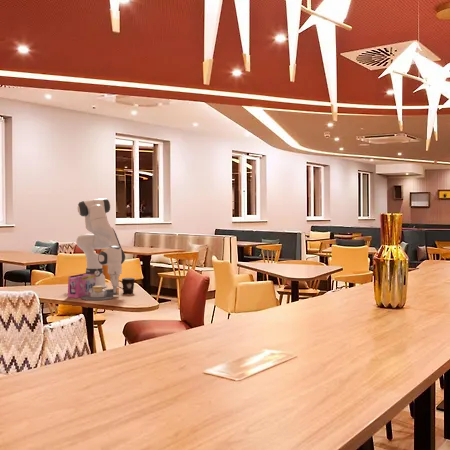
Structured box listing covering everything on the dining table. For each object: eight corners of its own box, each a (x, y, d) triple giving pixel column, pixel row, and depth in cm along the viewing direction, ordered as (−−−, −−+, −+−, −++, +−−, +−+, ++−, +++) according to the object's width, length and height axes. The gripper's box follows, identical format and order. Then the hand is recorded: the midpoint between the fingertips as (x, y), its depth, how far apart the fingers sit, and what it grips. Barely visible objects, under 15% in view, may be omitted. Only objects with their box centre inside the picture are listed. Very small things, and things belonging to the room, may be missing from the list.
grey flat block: (92, 297, 353) (92, 290, 353) (86, 295, 362) (86, 288, 362) (121, 295, 364) (121, 288, 364) (115, 293, 373) (115, 286, 373)
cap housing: (77, 297, 364) (77, 285, 364) (108, 294, 375) (108, 283, 374) (86, 301, 347) (86, 289, 347) (118, 299, 357) (118, 287, 357)
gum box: (77, 298, 359) (77, 277, 358) (66, 297, 361) (66, 276, 360) (95, 293, 382) (96, 273, 381) (85, 292, 384) (85, 272, 383)
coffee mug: (136, 292, 388) (136, 277, 387) (132, 294, 379) (132, 279, 379) (119, 292, 389) (119, 277, 389) (115, 293, 380) (115, 279, 380)
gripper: (121, 272, 354) (120, 294, 355) (118, 269, 374) (118, 290, 374) (110, 272, 353) (110, 294, 353) (108, 269, 373) (108, 290, 373)
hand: (114, 292), depth 364 cm, fingers closed
